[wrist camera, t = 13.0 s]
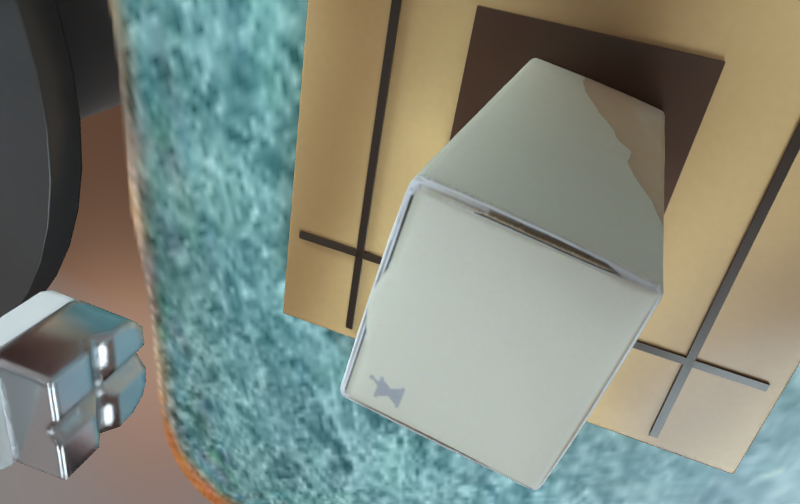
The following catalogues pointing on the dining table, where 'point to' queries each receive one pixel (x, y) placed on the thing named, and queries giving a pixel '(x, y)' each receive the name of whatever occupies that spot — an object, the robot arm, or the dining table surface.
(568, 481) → the dining table surface
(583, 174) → the box
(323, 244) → the board
